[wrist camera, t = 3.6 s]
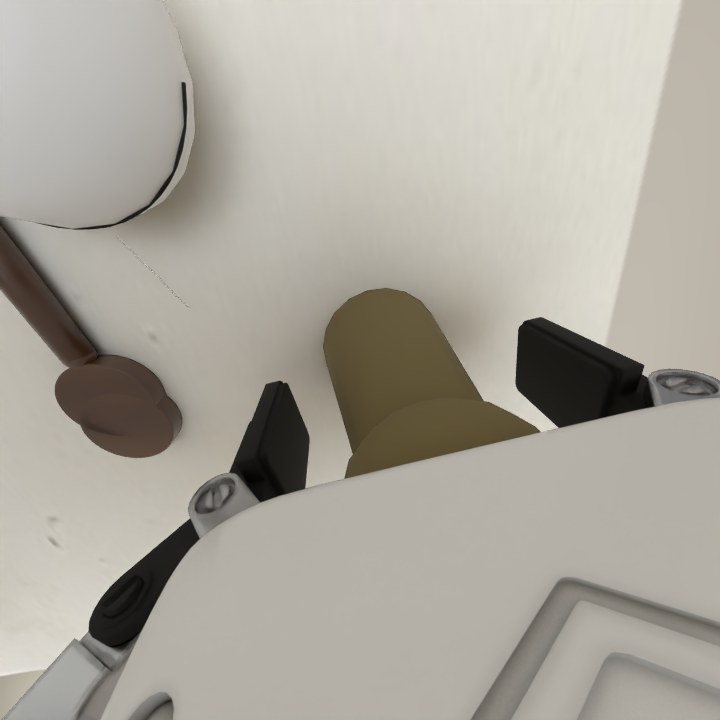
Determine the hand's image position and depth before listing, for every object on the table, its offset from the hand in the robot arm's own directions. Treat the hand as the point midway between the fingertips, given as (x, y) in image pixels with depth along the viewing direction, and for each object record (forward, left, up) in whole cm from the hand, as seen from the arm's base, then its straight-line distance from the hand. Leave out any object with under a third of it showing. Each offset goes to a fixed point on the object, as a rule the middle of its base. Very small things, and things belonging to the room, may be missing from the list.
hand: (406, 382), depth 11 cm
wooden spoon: (-14, +5, -4) cm, 15 cm away
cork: (0, 0, -4) cm, 4 cm away
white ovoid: (-8, +10, -4) cm, 13 cm away
